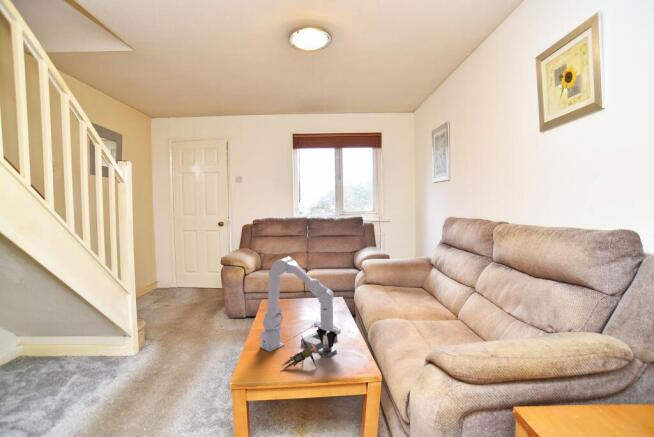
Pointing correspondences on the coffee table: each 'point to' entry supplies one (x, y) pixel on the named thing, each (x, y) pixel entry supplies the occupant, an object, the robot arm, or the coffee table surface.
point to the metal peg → (326, 343)
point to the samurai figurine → (301, 354)
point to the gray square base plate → (327, 352)
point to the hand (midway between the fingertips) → (327, 345)
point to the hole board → (314, 341)
